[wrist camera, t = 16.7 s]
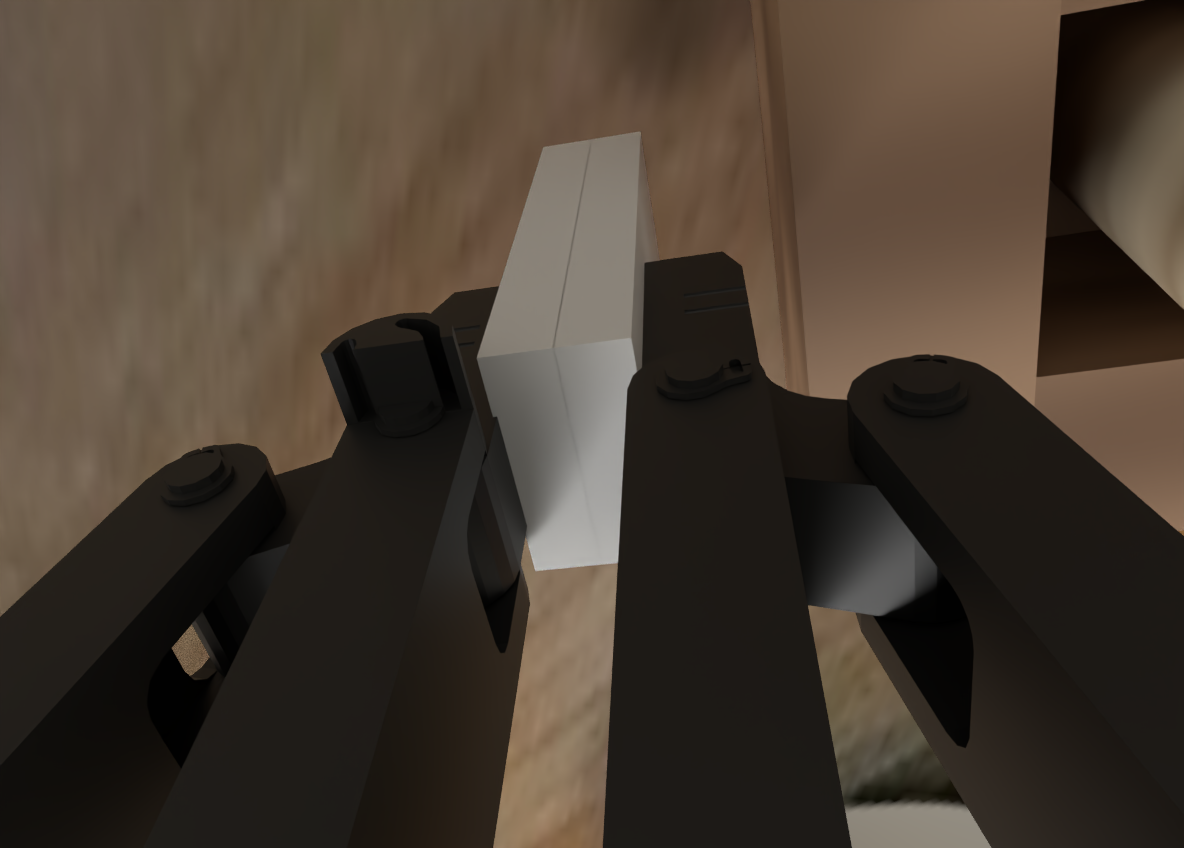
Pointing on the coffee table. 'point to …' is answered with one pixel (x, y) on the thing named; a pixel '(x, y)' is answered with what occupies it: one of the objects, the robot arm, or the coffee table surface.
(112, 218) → the coffee table surface
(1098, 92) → the dowel
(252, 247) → the coffee table surface
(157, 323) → the coffee table surface
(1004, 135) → the block
